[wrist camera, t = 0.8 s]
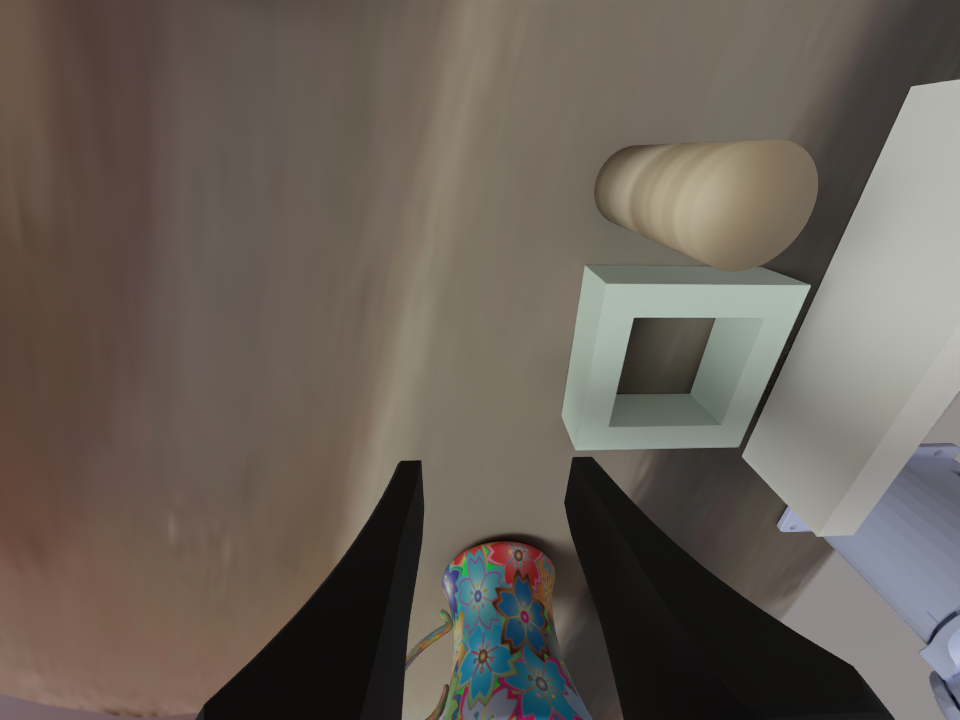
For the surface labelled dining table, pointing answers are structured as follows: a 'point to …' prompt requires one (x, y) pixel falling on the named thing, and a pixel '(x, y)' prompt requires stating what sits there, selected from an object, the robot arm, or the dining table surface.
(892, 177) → the wall
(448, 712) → the mug
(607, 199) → the dowel
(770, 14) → the dining table surface
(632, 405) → the socket block
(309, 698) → the robot arm
